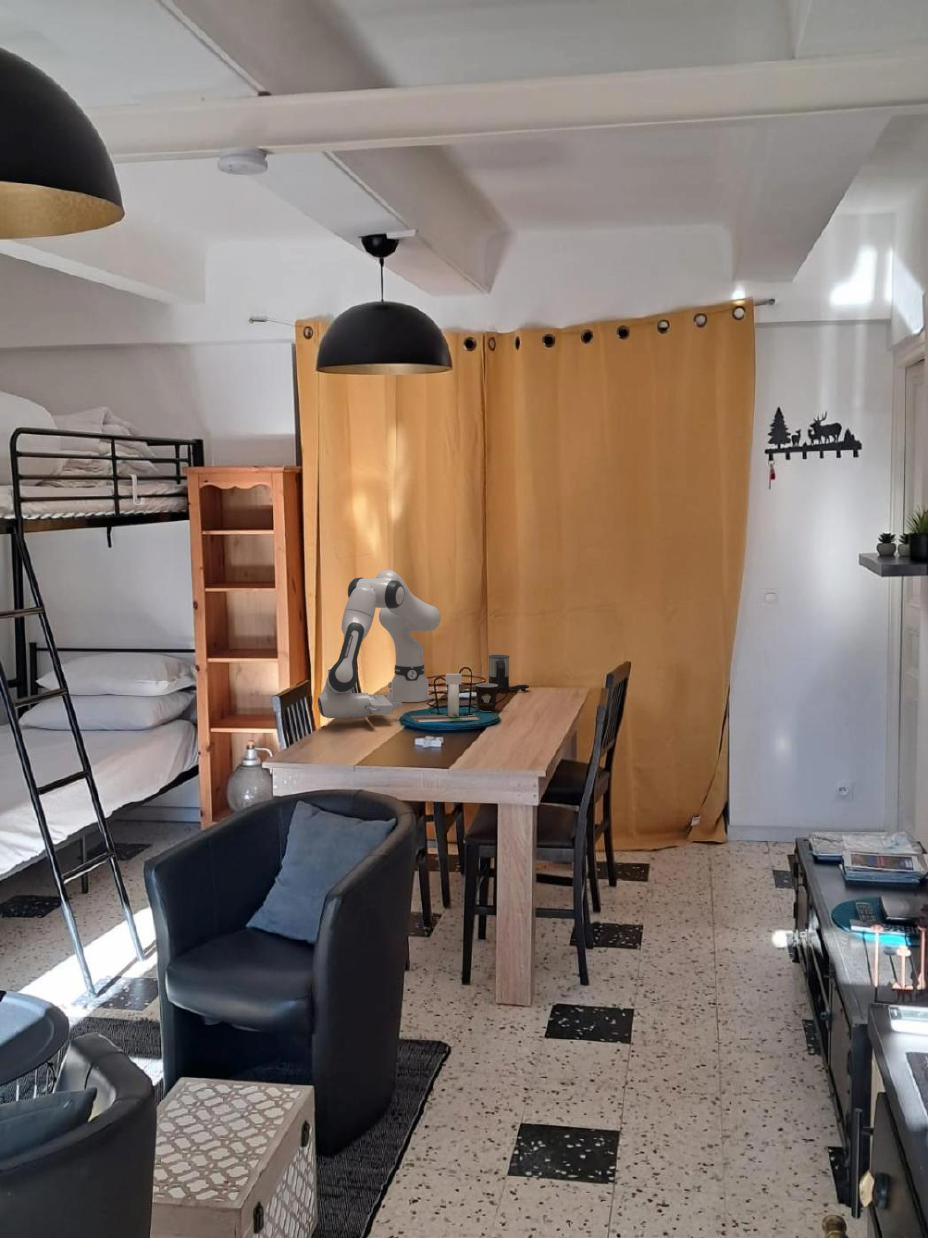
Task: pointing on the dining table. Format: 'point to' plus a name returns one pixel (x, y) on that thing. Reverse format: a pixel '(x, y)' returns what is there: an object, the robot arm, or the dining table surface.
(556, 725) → the dining table surface
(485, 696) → the coffee mug
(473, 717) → the tuner board
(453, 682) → the peg
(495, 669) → the milk frother
